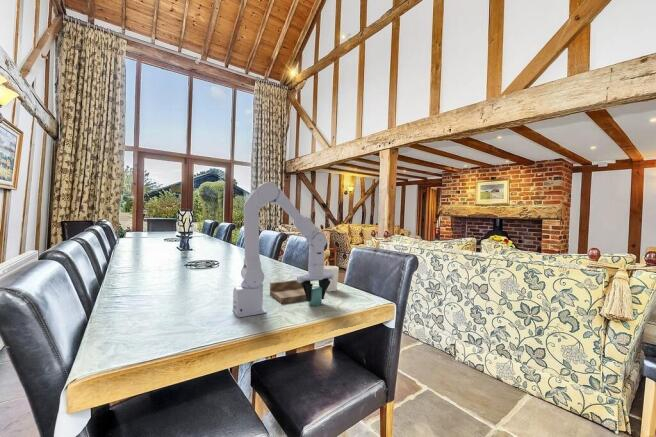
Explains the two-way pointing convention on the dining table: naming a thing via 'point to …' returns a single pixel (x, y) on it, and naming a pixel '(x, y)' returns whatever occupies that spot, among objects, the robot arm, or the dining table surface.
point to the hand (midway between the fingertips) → (315, 299)
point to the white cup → (333, 281)
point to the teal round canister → (316, 296)
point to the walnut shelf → (287, 291)
